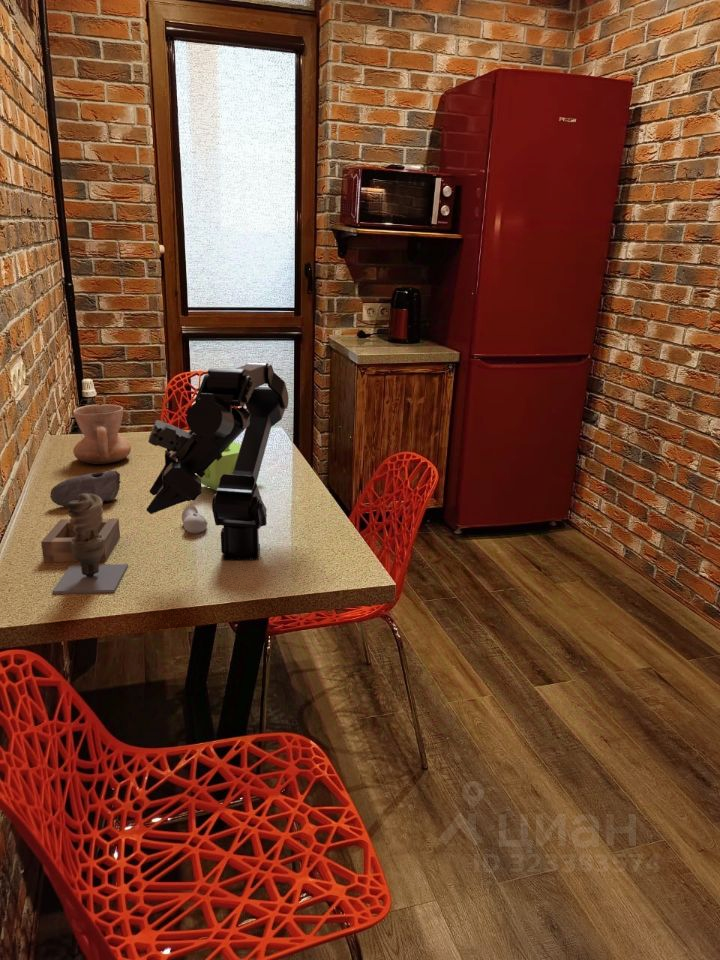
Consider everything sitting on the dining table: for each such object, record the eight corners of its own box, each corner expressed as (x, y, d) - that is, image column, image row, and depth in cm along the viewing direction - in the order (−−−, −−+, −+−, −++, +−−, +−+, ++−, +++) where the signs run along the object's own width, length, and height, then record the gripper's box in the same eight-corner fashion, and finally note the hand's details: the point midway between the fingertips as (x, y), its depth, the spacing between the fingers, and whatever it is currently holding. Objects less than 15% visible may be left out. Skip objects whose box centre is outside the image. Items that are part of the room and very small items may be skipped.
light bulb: (98, 566, 124) (90, 487, 119) (116, 575, 121) (108, 494, 116) (69, 577, 120) (59, 495, 115) (86, 586, 116) (76, 502, 112)
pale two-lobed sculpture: (206, 540, 140) (181, 535, 138) (202, 525, 148) (178, 520, 146) (212, 521, 139) (187, 516, 137) (207, 506, 147) (183, 501, 145)
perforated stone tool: (52, 512, 150) (48, 482, 147) (51, 504, 154) (47, 475, 152) (124, 503, 156) (122, 474, 154) (121, 496, 160) (118, 467, 158)
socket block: (120, 537, 138) (118, 518, 136) (106, 561, 127) (103, 541, 126) (62, 538, 137) (60, 519, 135) (43, 562, 126) (41, 541, 125)
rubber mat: (128, 566, 125) (127, 564, 125) (114, 592, 116) (114, 589, 116) (70, 567, 124) (70, 564, 124) (52, 593, 115) (52, 591, 115)
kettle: (187, 496, 161) (184, 449, 158) (202, 477, 175) (200, 434, 171) (251, 498, 161) (250, 451, 157) (261, 479, 174) (260, 436, 171)
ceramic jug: (75, 453, 191) (70, 403, 187) (130, 450, 196) (126, 400, 191) (73, 473, 175) (66, 418, 171) (133, 468, 180) (128, 415, 175)
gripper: (177, 393, 123) (117, 456, 124) (175, 418, 105) (105, 490, 106) (224, 435, 127) (165, 495, 128) (229, 465, 110) (162, 534, 111)
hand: (149, 502), depth 118 cm, fingers open, 9 cm apart
